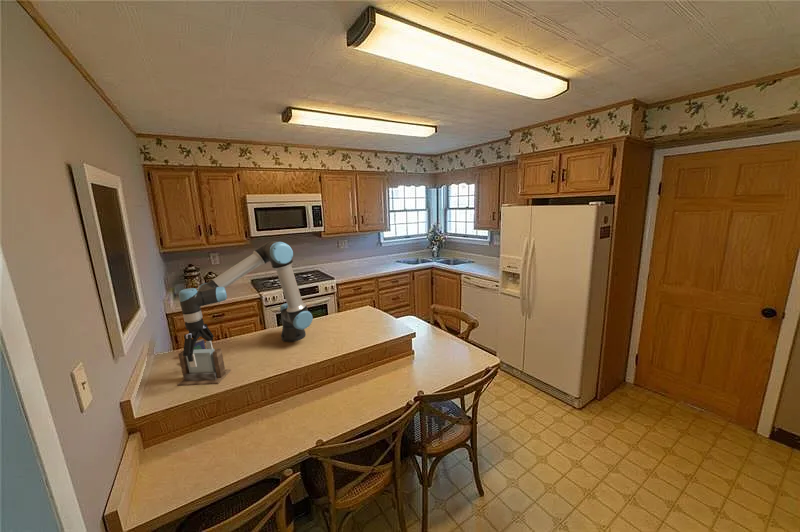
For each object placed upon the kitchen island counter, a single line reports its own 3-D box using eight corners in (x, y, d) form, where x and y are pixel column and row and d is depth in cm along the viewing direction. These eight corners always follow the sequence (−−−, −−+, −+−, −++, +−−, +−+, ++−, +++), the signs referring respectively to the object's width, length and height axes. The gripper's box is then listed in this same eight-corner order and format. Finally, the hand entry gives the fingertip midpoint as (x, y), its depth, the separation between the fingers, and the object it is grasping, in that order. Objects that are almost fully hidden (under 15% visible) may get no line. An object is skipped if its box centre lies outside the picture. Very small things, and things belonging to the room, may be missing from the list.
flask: (205, 352, 185) (202, 335, 183) (207, 353, 183) (204, 336, 181) (188, 358, 178) (184, 341, 176) (189, 360, 176) (185, 342, 174)
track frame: (231, 370, 162) (226, 344, 159) (218, 383, 150) (212, 356, 147) (193, 372, 162) (188, 346, 159) (177, 385, 150) (171, 358, 147)
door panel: (219, 373, 158) (214, 348, 155) (214, 378, 154) (209, 352, 151) (196, 374, 158) (190, 349, 155) (190, 379, 154) (185, 353, 151)
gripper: (202, 311, 162) (210, 347, 167) (167, 331, 138) (177, 373, 142) (216, 310, 162) (223, 347, 166) (183, 330, 137) (193, 372, 142)
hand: (202, 359), depth 154 cm, fingers open, 13 cm apart
